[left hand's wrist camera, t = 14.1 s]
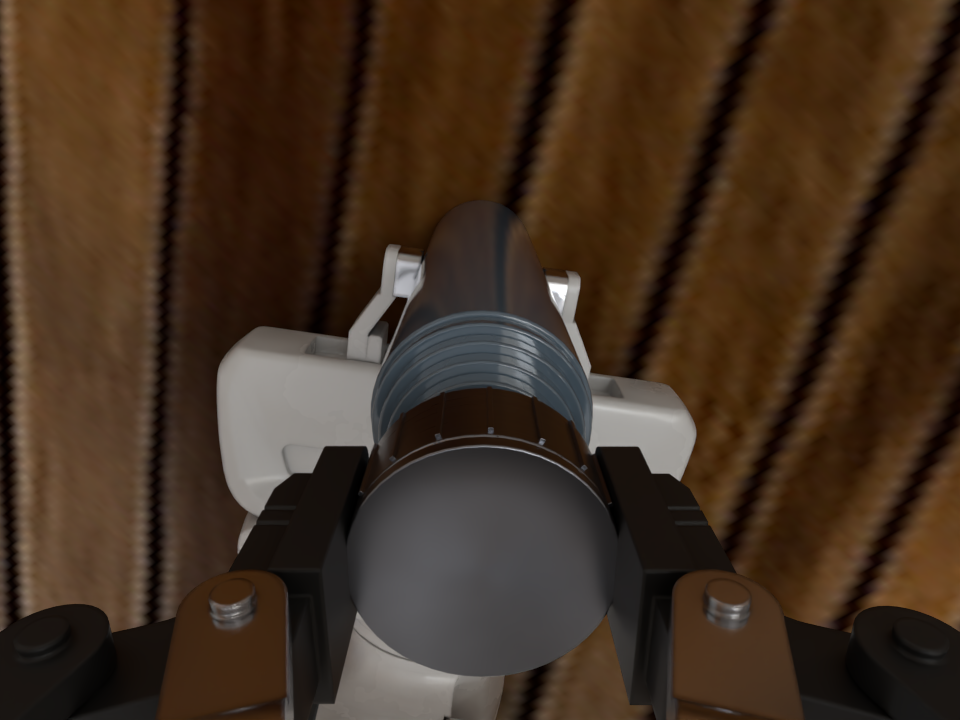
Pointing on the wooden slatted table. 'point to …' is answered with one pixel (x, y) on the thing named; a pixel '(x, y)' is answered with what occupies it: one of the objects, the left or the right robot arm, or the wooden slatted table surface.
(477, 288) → the bottle
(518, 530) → the cap
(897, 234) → the wooden slatted table surface
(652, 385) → the right robot arm
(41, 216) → the wooden slatted table surface
